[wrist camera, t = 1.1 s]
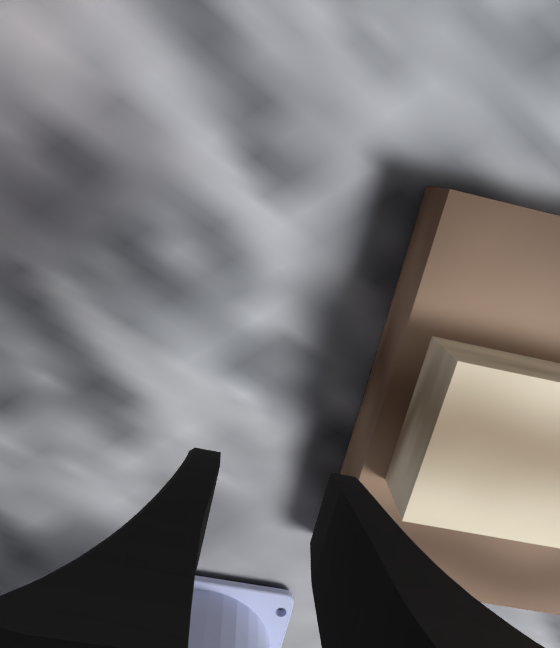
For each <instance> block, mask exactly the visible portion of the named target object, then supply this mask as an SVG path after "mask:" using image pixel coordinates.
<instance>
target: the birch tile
mask: <svg viewBox="0 0 560 648" xmlns="http://www.w3.org/2000/svg"><path fill="white" fill-rule="evenodd" d="M385 480H386V483H387V485H388V488H389V490H390V492H391V495H392V497H393V500H394V502H395V505H396V507H397V510H398V512H399V515H400V517H401V520H402V521H405V522H411V523H416V524H422V525H428V526H434V527H439V528H445V529H451V530H457V531H462V532H468V533H474V534H480V535H485V536H491V537H497V538H502V539H508V540H514V541H520V542H525V543H531V544H537V545H543V546H548V547H554V548H560V363H556V362H551V361H546V360H542V359H537V358H532V357H528V356H523V355H518V354H514V353H509V352H504V351H500V350H495V349H490V348H486V347H481V346H476V345H472V344H467V343H462V342H458V341H453V340H448V339H444V338H439V337H434V336H432V338H431V341H430V344H429V347H428V350H427V353H426V356H425V359H424V362H423V365H422V368H421V371H420V375H419V378H418V381H417V384H416V387H415V390H414V393H413V396H412V399H411V402H410V405H409V408H408V411H407V414H406V417H405V420H404V423H403V426H402V429H401V432H400V435H399V438H398V441H397V444H396V447H395V450H394V454H393V457H392V460H391V463H390V466H389V469H388V472H387V475H386V478H385Z"/></svg>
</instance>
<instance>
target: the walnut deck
mask: <svg viewBox="0 0 560 648" xmlns="http://www.w3.org/2000/svg"><path fill="white" fill-rule="evenodd" d="M432 336H434V337H439V338H444V339H448V340H453V341H458V342H462V343H467V344H472V345H476V346H481V347H486V348H490V349H495V350H500V351H504V352H509V353H514V354H518V355H523V356H528V357H532V358H537V359H542V360H546V361H551V362H556V363H560V216H558V215H554V214H550V213H546V212H542V211H538V210H533V209H529V208H525V207H521V206H517V205H513V204H509V203H505V202H501V201H497V200H493V199H489V198H485V197H481V196H477V195H472V194H468V193H464V192H460V191H456V190H452V189H446V188H438V187H429V186H426V189H425V192H424V196H423V199H422V202H421V206H420V209H419V212H418V216H417V219H416V222H415V226H414V229H413V232H412V236H411V239H410V242H409V246H408V249H407V252H406V256H405V259H404V262H403V266H402V269H401V272H400V276H399V279H398V282H397V286H396V289H395V292H394V296H393V299H392V302H391V306H390V309H389V312H388V316H387V319H386V322H385V326H384V329H383V332H382V336H381V339H380V342H379V346H378V349H377V352H376V356H375V359H374V362H373V366H372V369H371V372H370V376H369V379H368V382H367V386H366V389H365V392H364V396H363V399H362V402H361V406H360V409H359V412H358V416H357V419H356V422H355V426H354V429H353V432H352V436H351V439H350V442H349V446H348V449H347V452H346V456H345V459H344V462H343V466H342V469H341V472H340V474H342V475H348V476H353V477H356V478H357V479H358V480H359V481H360V482H361V483H362V484H363V485H364V486H365V488H366V489H367V490H368V491H369V492H370V493H371V494H372V496H373V497H374V498H375V499H376V500H377V501H378V503H379V504H380V505H381V506H382V507H383V508H384V510H385V511H386V512H387V513H388V514H389V515H390V517H391V518H392V519H393V520H394V521H395V522H396V523H397V524H398V526H399V527H400V528H401V529H402V530H403V531H404V532H405V533H406V534H407V535H408V536H409V537H410V539H411V540H412V541H413V542H414V543H415V544H416V545H417V546H418V547H419V548H420V549H421V550H422V551H423V552H424V553H425V554H426V555H427V556H428V557H429V558H430V559H431V560H432V561H433V562H434V563H435V564H436V565H437V566H438V567H439V568H441V569H442V570H443V571H444V572H445V573H446V574H447V575H448V576H449V577H451V578H452V579H453V580H454V581H455V582H456V583H458V584H459V585H460V586H461V587H462V588H463V589H465V590H466V591H467V592H468V593H469V594H470V595H472V596H473V597H474V598H475V599H477V600H478V601H479V602H482V603H488V604H494V605H500V606H507V607H513V608H519V609H526V610H532V611H538V612H544V613H551V614H557V615H560V548H554V547H548V546H543V545H537V544H531V543H525V542H520V541H514V540H508V539H502V538H497V537H491V536H485V535H480V534H474V533H468V532H462V531H457V530H451V529H445V528H439V527H434V526H428V525H422V524H416V523H411V522H405V521H402V520H401V517H400V515H399V512H398V510H397V507H396V505H395V502H394V500H393V497H392V495H391V492H390V490H389V488H388V485H387V483H386V480H385V478H386V475H387V472H388V469H389V466H390V463H391V460H392V457H393V454H394V450H395V447H396V444H397V441H398V438H399V435H400V432H401V429H402V426H403V423H404V420H405V417H406V414H407V411H408V408H409V405H410V402H411V399H412V396H413V393H414V390H415V387H416V384H417V381H418V378H419V375H420V371H421V368H422V365H423V362H424V359H425V356H426V353H427V350H428V347H429V344H430V341H431V338H432Z"/></svg>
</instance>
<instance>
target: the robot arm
mask: <svg viewBox="0 0 560 648" xmlns="http://www.w3.org/2000/svg"><path fill="white" fill-rule="evenodd" d="M220 453H221V452H216V451H210V450H205V449H199V448H194V449H192V450H190V451H189V453H188V455H187V457H186V458H185V460H184V462H183V463H182V465H181V466H180V468H179V469H178V470H177V471H176V473H175V474H174V475H173V477H172V478H171V479H170V480H169V481H168V482H167V484H166V485H165V486H164V487H163V488H162V489H161V490H160V492H159V493H158V494H157V495H156V496H155V497H154V498H153V499H152V500H151V501H150V502H149V503H148V504H147V505H146V506H145V507H144V508H143V509H142V510H140V511H139V512H138V513H137V514H136V515H135V516H134V517H133V518H132V519H131V520H129V521H128V522H127V523H126V524H125V525H123V526H122V527H121V528H120V529H118V530H117V531H116V532H115V533H113V534H112V535H111V536H109V537H108V538H107V539H105V540H104V541H102V542H101V543H99V544H98V545H97V546H95V547H94V548H92V549H91V550H89V551H88V552H86V553H85V554H83V555H82V556H80V557H79V558H77V559H75V560H74V561H72V562H70V563H68V564H67V565H65V566H63V567H61V568H59V569H57V570H56V571H54V572H52V573H50V574H48V575H46V576H45V577H43V578H41V579H39V580H36V581H34V582H32V583H30V584H28V585H25V586H23V587H21V588H18V589H16V590H13V591H11V592H9V593H6V594H4V595H1V596H0V648H281V646H282V643H283V639H284V636H285V632H286V629H287V626H288V622H289V619H290V616H291V612H292V609H293V605H294V597H293V594H292V593H291V592H290V591H288V590H285V589H279V588H272V587H266V586H259V585H253V584H246V583H240V582H234V581H227V580H221V579H214V578H208V577H202V576H195V573H196V569H197V565H198V561H199V556H200V552H201V547H202V543H203V539H204V534H205V530H206V525H207V521H208V516H209V512H210V507H211V503H212V499H213V494H214V490H215V485H216V481H217V476H218V472H219V467H220ZM310 552H311V580H312V589H313V596H314V602H315V608H316V615H317V621H318V627H319V633H320V639H321V645H322V648H544V647H543V646H541V645H540V644H538V643H536V642H535V641H533V640H532V639H530V638H529V637H527V636H526V635H524V634H523V633H521V632H520V631H518V630H517V629H516V628H514V627H513V626H511V625H510V624H509V623H507V622H506V621H504V620H503V619H502V618H500V617H499V616H498V615H496V614H495V613H494V612H492V611H491V610H490V609H488V608H487V607H485V606H484V605H483V604H482V603H480V602H479V601H478V600H477V599H475V598H474V597H473V596H472V595H470V594H469V593H468V592H467V591H466V590H465V589H463V588H462V587H461V586H460V585H459V584H458V583H456V582H455V581H454V580H453V579H452V578H451V577H449V576H448V575H447V574H446V573H445V572H444V571H443V570H442V569H441V568H439V567H438V566H437V565H436V564H435V563H434V562H433V561H432V560H431V559H430V558H429V557H428V556H427V555H426V554H425V553H424V552H423V551H422V550H421V549H420V548H419V547H418V546H417V545H416V544H415V543H414V542H413V541H412V540H411V539H410V537H409V536H408V535H407V534H406V533H405V532H404V531H403V530H402V529H401V528H400V527H399V526H398V524H397V523H396V522H395V521H394V520H393V519H392V518H391V517H390V515H389V514H388V513H387V512H386V511H385V510H384V508H383V507H382V506H381V505H380V504H379V503H378V501H377V500H376V499H375V498H374V497H373V496H372V494H371V493H370V492H369V491H368V490H367V489H366V488H365V486H364V485H363V484H362V483H361V482H360V481H359V480H358V479H357V478H356V477H353V476H348V475H342V474H337V473H331V474H330V478H329V481H328V484H327V488H326V491H325V495H324V498H323V501H322V505H321V508H320V512H319V515H318V518H317V522H316V525H315V529H314V532H313V535H312V539H311V542H310ZM278 608H284V609H283V610H278Z"/></svg>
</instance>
